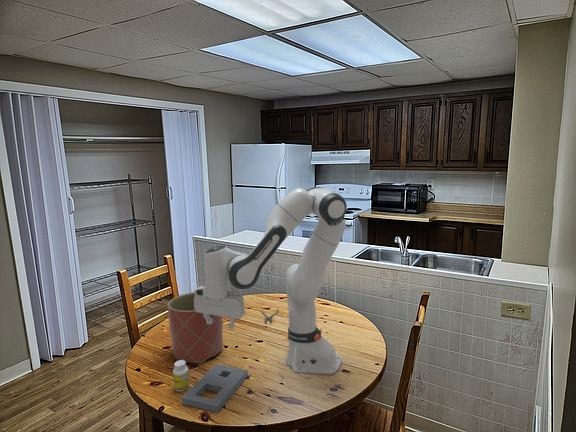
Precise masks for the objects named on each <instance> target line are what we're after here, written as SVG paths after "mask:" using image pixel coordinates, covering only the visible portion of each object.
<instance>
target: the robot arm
mask: <svg viewBox="0 0 576 432" xmlns="http://www.w3.org/2000/svg"><path fill="white" fill-rule="evenodd" d="M347 205H348V204H347V201H346V200H345V198H344V197H343V196H342V195H340V194H339V193H336V192H335V191H333V190H331V189H328V188H324V187H320V186H314V187H310V188H309V189H307V190H306V189H304V188H301V187H297V188H294V189H293V190H291V191H290V192H289V193H288V194H286V195H285V196H284V197H283V198H282V199H280V201H279V202H278V203H277V204H276V206H274V207H273V209H272V210H271V212H270V213H269V214H268V217H267V219H266V222H265V223H266V225H265V226H266V227H265V232H264V234H263V236H262V238H261V240H260V241H259V242H258V243H257V245H255V247H254V248H253V249H252V250H251V251H250V253H249V254H248V253H245V252H239V251H236V250H232V249H231V248H228V247H227V246H226V245H215V246H213V247H211V248H209V249H208V250H207V251H206V252H205V253H204V259H203V260H204V265H203V266H204V274H205V277H206V278H205V284H203V285H200V286H198V287H197V288H196V289H194V290H193V292H194V294H195V297H194V309H195V311H196V312H198V313H203V316H204V317H205V319H206V321H207V324H208V325H211V324H212V323H213V322H212V319H211V318H210V316H209V314H211V315H217V316H223V317H224V318H229V319H230V322H229V323H228V324H227V327H228V329H233V328H234V327H235V322H236V320H241V319H242V318H243V317H244V316H245V314H246V308H245V300H244V296H243V295H242V294H241V293H239V292H234V291H231V285H232V286H233V287H234V288H236V289H238V290H247V289H250V288H252V287H253V286H255V285H256V283H257V282H258V279H259V278H260V274H261V271H262V269H263V268H264V266H265V265H266V264H267V263H268V261H269V260H270V258H272V256H273V255H275V252H276V251H277V250H278V248H279V247H280V246H281V245H282V244H283V242H284V241H285V240H286V239H287V238H288V237H289V236H290V235H291V234H292V233H293V232H294V230H295V229H297V227H299V225H300V224H301V223H302V222H303V220H304V219H305V218H306V217H308V216H309V215H312V214H313V215H314V216H316V217H318V221H317V225H316V226H315V228H314V230H313V232H312V234H311V235H310V237H309V239H308V241H307V243H306V244H305V246H304V248H303V250H302V255H301V258H300V260H299V263H294V264H291V265H289V266H288V268H287V270H286V273H285V289H286V290H285V291H286V298H287V299H286V300H287V307H288V309H287V310H288V328H287V339H288V349H287V354H286V355H287V356H286V359H285V362H286V364H287V365H288V366H289V367H290V368H291V369H292V371H293V372H294V373H298V374H300V373H301V374H315V375H330V376H331V375H334V374H335V373H337V372H338V371H339V370H340V368H341V366H342V357H341V355H339V354H337V353H336V349H335V346H334V344H332V343H331V342H329V341H328V340H327V339H326V338H324V337H323V336H322V327H320V328H318V326H317V309H316V308H317V307H316V304H315V300H316V299H317V298H318V296H319V293H320V287H321V283H322V281H323V277H324V275H325V272H326V270H327V266H328V265H329V262H330V261H331V259H332V257H333V255H334V254H335V252H336V250H337V248H338V246H339V245H340V241H341V240H342V238H343V236H344V232H345V230H346V226H347V224H346V220H345V215H346V213H347V208H348V207H347Z"/></svg>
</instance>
